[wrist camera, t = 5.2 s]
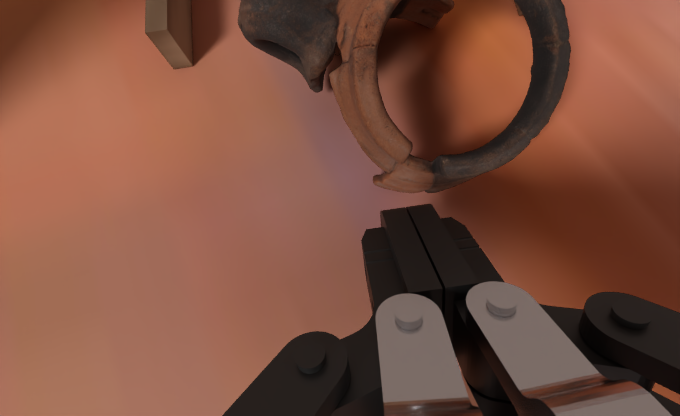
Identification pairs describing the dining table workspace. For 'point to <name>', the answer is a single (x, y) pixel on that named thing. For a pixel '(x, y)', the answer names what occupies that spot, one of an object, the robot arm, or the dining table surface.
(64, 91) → the dining table surface
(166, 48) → the wooden corral
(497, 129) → the dining table surface
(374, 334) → the robot arm
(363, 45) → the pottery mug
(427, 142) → the dining table surface
